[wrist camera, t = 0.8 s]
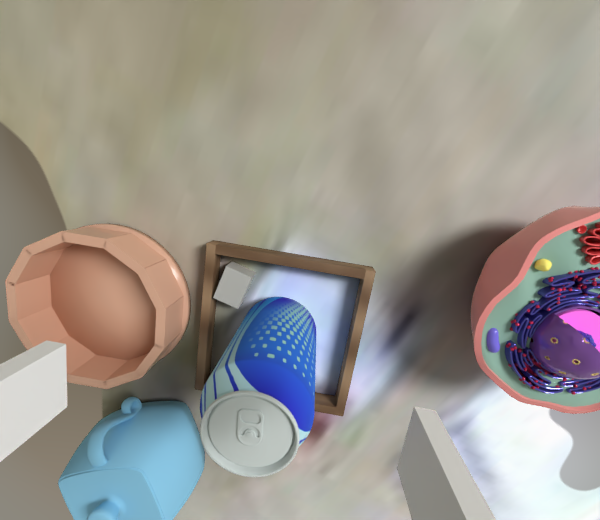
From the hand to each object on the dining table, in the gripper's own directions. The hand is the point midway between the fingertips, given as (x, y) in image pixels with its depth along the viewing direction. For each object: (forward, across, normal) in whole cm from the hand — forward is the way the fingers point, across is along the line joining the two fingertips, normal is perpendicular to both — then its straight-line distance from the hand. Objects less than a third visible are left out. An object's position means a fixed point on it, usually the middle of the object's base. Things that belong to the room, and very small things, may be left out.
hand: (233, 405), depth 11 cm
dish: (+22, -20, -7) cm, 31 cm away
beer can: (+23, 0, -7) cm, 24 cm away
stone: (+23, -6, -3) cm, 23 cm away
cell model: (+23, +26, +3) cm, 34 cm away
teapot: (+23, -13, -27) cm, 38 cm away
